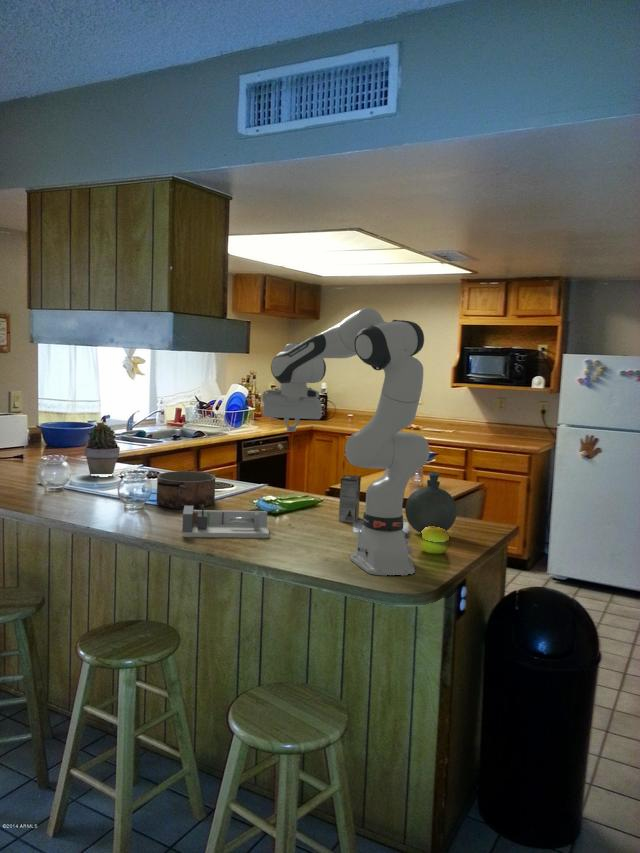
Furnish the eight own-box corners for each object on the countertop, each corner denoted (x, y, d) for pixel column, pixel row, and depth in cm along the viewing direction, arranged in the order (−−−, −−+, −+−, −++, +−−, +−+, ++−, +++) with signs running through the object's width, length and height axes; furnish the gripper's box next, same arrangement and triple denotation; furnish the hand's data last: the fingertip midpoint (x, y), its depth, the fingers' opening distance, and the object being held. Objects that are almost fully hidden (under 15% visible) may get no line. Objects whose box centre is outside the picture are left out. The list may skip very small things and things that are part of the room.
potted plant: (113, 470, 330) (114, 418, 328) (127, 477, 315) (129, 423, 312) (75, 472, 320) (75, 419, 317) (87, 480, 304) (88, 424, 302)
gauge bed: (268, 537, 227) (270, 515, 226) (182, 536, 223) (183, 514, 222) (266, 528, 239) (267, 507, 238) (183, 527, 234) (184, 505, 234)
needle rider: (206, 528, 227) (207, 507, 226) (197, 528, 227) (198, 507, 226) (206, 524, 232) (207, 504, 231) (197, 524, 232) (198, 503, 231)
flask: (446, 542, 234) (451, 478, 231) (400, 533, 242) (404, 471, 240) (458, 535, 244) (462, 474, 241) (413, 527, 252) (417, 467, 250)
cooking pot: (188, 514, 253) (189, 485, 252) (138, 506, 262) (139, 478, 261) (229, 500, 281) (230, 474, 280) (183, 493, 289) (184, 467, 288)
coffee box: (342, 515, 264) (344, 474, 262) (358, 517, 262) (361, 475, 261) (338, 521, 255) (340, 478, 253) (355, 523, 254) (357, 480, 252)
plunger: (258, 529, 229) (259, 514, 229) (229, 529, 228) (230, 514, 227) (257, 525, 235) (258, 510, 235) (229, 524, 234) (230, 510, 233)
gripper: (263, 390, 230) (261, 431, 232) (323, 392, 233) (321, 433, 235) (262, 388, 236) (260, 429, 238) (321, 391, 240) (318, 431, 241)
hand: (291, 431), depth 236 cm, fingers closed
